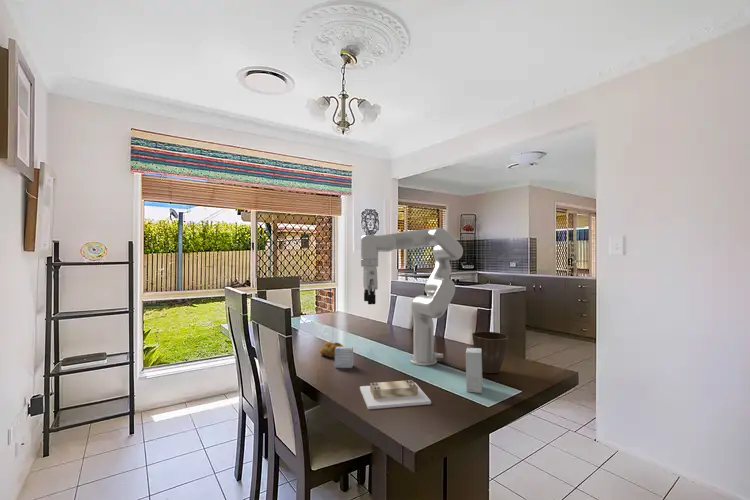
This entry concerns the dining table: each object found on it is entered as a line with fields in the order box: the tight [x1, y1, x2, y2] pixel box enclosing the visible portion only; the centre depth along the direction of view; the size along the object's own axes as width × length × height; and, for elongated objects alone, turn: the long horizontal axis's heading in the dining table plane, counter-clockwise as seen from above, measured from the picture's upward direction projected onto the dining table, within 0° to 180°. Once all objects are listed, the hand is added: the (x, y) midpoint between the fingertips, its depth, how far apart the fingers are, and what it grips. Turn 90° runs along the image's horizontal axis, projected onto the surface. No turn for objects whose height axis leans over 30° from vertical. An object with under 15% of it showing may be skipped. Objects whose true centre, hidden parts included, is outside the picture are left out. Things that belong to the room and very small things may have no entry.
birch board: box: [369, 379, 418, 399], centre depth 129 cm, size 16×7×3 cm, turn 101°
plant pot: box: [471, 331, 509, 374], centre depth 156 cm, size 15×15×16 cm
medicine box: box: [334, 346, 354, 369], centre depth 163 cm, size 8×4×9 cm, turn 84°
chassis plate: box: [359, 379, 432, 410], centre depth 129 cm, size 22×18×4 cm
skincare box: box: [465, 347, 484, 394], centre depth 136 cm, size 8×6×15 cm
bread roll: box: [319, 341, 345, 359], centre depth 180 cm, size 13×10×8 cm
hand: (369, 302), depth 155 cm, fingers open, 9 cm apart
